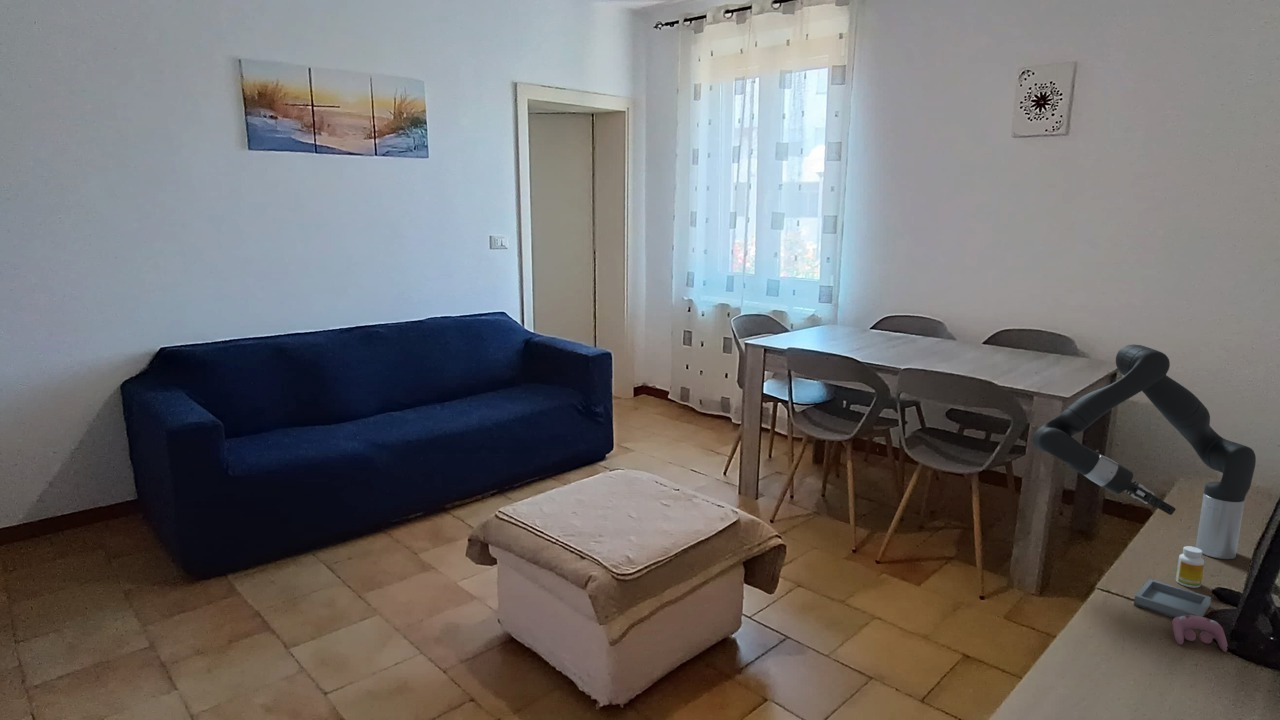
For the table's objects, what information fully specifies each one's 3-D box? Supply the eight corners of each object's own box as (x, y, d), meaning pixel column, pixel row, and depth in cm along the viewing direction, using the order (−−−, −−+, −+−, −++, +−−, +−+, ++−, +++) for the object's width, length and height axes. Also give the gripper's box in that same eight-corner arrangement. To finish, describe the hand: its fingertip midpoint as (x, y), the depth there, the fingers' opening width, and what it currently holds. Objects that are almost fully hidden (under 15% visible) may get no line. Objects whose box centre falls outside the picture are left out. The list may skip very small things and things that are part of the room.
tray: (1148, 587, 191) (1149, 578, 190) (1209, 606, 181) (1211, 597, 181) (1133, 604, 182) (1135, 595, 182) (1197, 625, 173) (1199, 616, 172)
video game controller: (1221, 651, 165) (1219, 619, 167) (1230, 653, 161) (1228, 619, 163) (1170, 643, 168) (1168, 611, 170) (1177, 644, 164) (1176, 612, 166)
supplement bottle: (1205, 589, 190) (1210, 554, 188) (1181, 587, 191) (1186, 552, 189) (1194, 579, 195) (1199, 545, 193) (1171, 577, 196) (1176, 544, 194)
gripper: (1124, 467, 189) (1187, 502, 185) (1107, 457, 202) (1165, 490, 198) (1107, 490, 190) (1168, 526, 186) (1091, 479, 204) (1148, 512, 200)
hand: (1166, 507), depth 192 cm, fingers open, 8 cm apart
